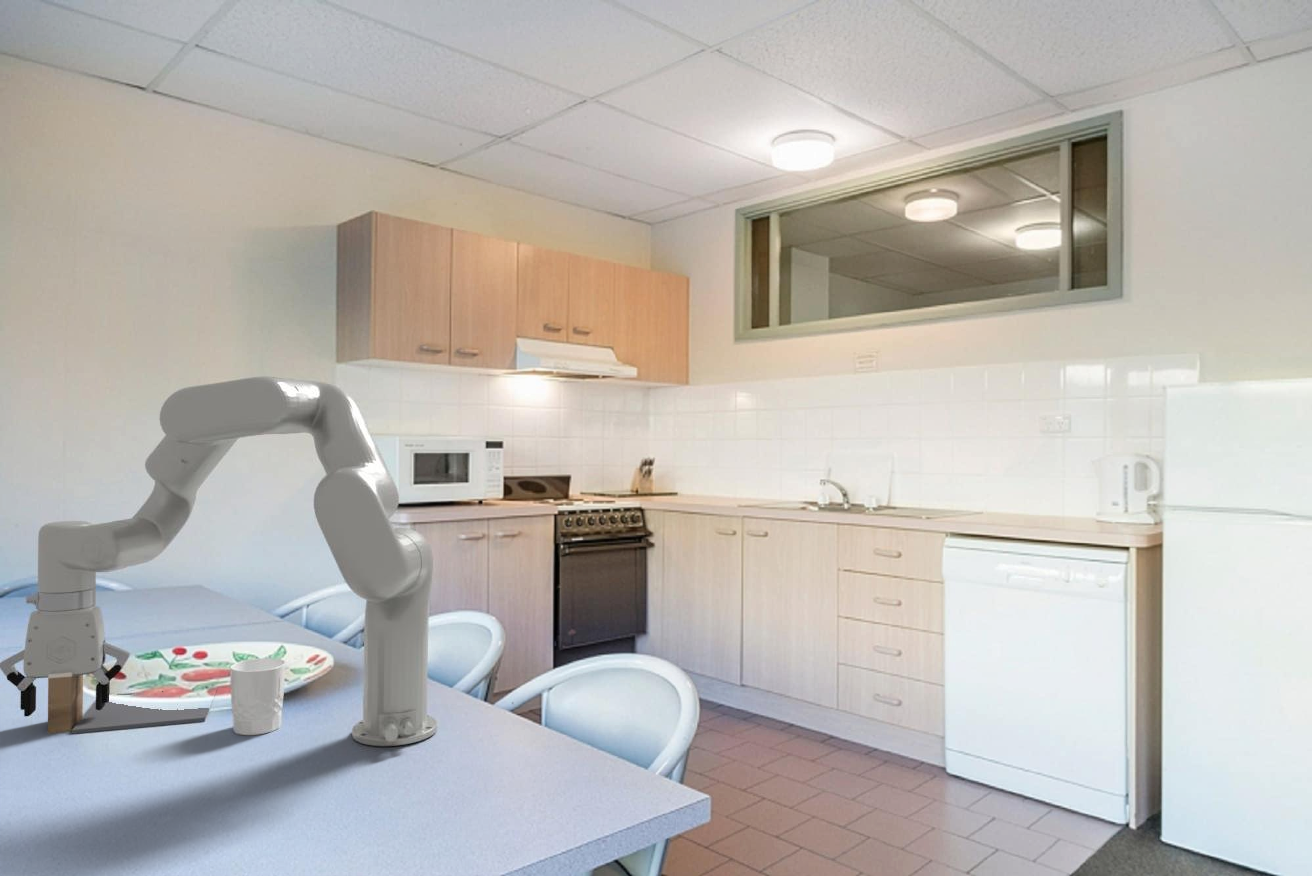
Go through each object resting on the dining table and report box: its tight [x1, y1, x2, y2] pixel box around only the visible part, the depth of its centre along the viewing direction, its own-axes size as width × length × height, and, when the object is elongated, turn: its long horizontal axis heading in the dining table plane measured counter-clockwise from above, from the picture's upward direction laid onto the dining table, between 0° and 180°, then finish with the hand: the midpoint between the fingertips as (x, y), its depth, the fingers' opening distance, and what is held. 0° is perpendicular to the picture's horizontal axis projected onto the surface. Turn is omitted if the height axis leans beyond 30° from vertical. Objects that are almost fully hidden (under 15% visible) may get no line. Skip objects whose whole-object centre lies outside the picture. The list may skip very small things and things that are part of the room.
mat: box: [71, 692, 210, 735], centre depth 143 cm, size 18×18×1 cm
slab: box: [47, 672, 84, 734], centre depth 135 cm, size 7×3×9 cm, turn 21°
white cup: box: [229, 657, 287, 736], centre depth 135 cm, size 8×8×10 cm
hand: (65, 710), depth 135 cm, fingers open, 9 cm apart
